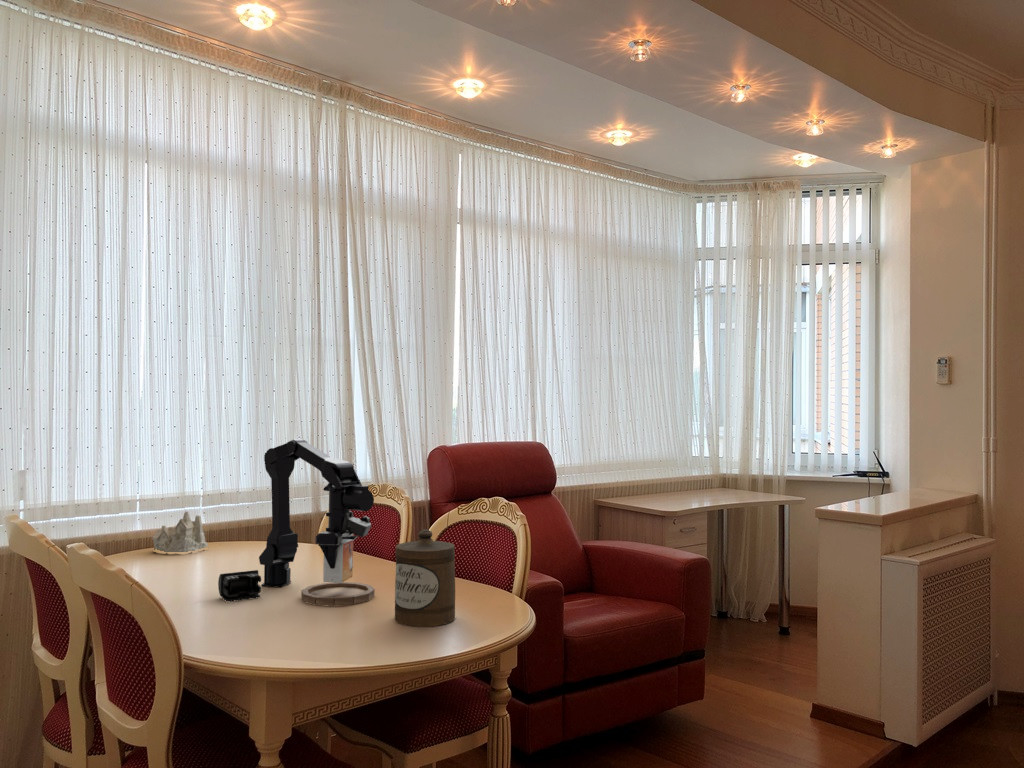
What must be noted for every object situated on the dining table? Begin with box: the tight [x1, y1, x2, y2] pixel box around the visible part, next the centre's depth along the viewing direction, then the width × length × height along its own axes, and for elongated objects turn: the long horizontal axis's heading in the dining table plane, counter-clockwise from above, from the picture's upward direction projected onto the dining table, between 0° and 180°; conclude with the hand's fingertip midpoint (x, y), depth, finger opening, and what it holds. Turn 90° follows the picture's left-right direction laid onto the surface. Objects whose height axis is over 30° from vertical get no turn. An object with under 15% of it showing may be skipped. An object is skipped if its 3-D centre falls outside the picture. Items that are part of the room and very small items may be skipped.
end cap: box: [217, 569, 262, 602], centre depth 221 cm, size 10×7×7 cm
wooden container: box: [394, 528, 456, 628], centre depth 201 cm, size 15×15×22 cm
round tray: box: [300, 581, 376, 607], centre depth 222 cm, size 19×19×2 cm
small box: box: [322, 539, 354, 583], centre depth 222 cm, size 8×6×10 cm
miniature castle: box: [152, 510, 209, 552], centre depth 288 cm, size 16×16×15 cm
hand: (338, 565), depth 222 cm, fingers closed on small box, 8 cm apart
